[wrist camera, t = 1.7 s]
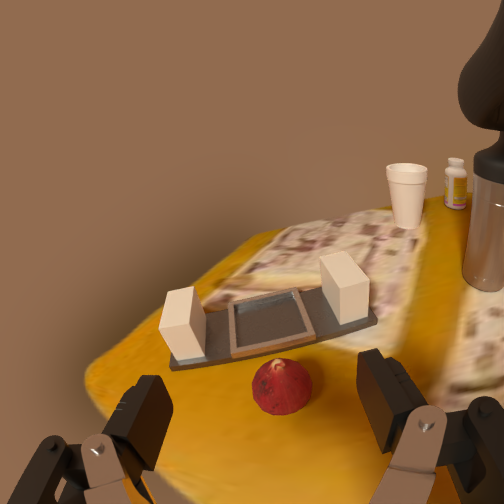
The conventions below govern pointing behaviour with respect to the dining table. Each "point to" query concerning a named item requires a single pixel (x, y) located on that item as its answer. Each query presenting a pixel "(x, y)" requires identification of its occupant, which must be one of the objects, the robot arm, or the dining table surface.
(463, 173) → the supplement bottle
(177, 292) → the mounted modules
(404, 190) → the foam cup
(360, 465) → the dining table surface
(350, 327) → the mounting plate
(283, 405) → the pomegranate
